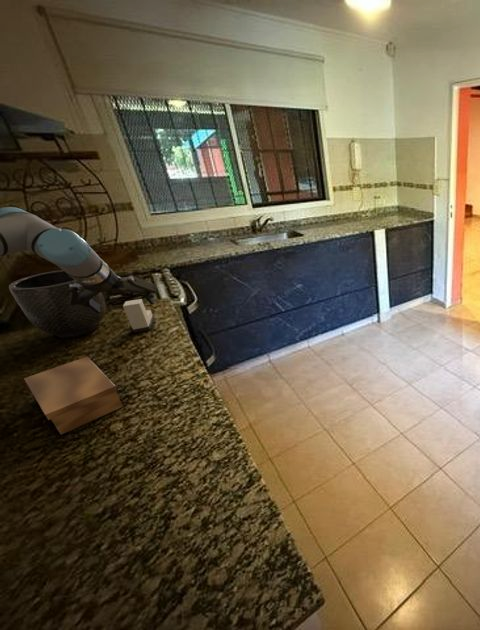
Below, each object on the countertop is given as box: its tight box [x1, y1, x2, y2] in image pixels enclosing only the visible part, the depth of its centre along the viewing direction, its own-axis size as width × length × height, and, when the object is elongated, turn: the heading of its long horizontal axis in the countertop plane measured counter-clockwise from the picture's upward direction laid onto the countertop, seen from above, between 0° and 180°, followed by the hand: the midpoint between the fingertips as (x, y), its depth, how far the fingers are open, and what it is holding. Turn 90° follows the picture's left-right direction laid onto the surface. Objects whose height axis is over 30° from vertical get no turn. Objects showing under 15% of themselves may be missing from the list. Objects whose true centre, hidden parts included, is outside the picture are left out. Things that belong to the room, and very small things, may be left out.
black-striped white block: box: [122, 298, 155, 334], centre depth 119 cm, size 10×5×10 cm, turn 28°
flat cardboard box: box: [23, 356, 124, 435], centre depth 83 cm, size 12×22×6 cm, turn 54°
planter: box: [8, 269, 107, 339], centre depth 114 cm, size 20×20×19 cm
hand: (126, 305), depth 108 cm, fingers open, 13 cm apart
